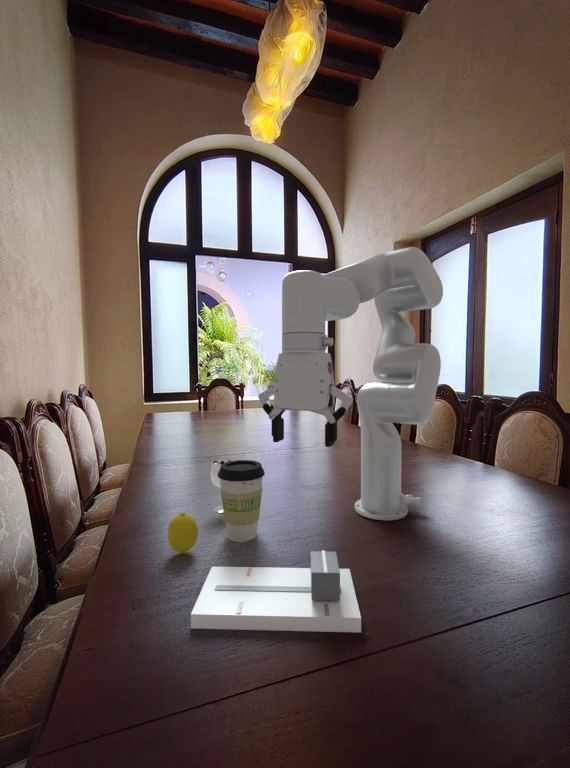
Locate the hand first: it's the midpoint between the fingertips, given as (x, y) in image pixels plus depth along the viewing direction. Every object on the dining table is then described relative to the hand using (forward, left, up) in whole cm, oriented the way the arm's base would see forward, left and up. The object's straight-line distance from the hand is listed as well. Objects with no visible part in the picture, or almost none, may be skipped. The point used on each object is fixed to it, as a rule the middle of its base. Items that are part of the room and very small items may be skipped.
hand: (303, 443), depth 65 cm
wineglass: (+20, -26, -22) cm, 40 cm away
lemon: (+23, -4, -22) cm, 32 cm away
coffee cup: (+13, -12, -22) cm, 28 cm away
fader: (-3, +10, -20) cm, 22 cm away
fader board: (+4, +10, -22) cm, 25 cm away
